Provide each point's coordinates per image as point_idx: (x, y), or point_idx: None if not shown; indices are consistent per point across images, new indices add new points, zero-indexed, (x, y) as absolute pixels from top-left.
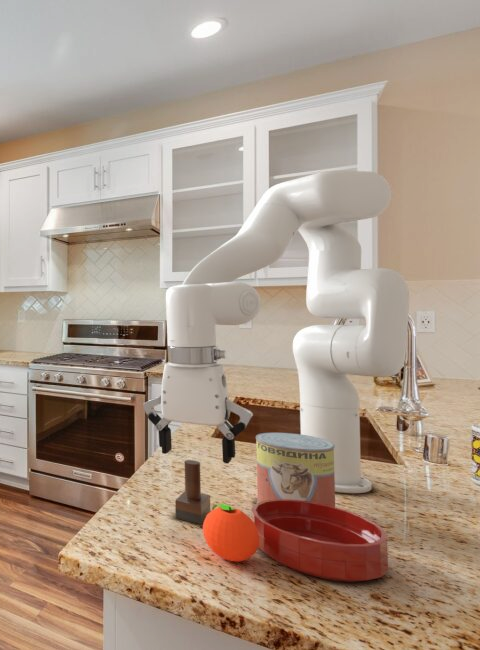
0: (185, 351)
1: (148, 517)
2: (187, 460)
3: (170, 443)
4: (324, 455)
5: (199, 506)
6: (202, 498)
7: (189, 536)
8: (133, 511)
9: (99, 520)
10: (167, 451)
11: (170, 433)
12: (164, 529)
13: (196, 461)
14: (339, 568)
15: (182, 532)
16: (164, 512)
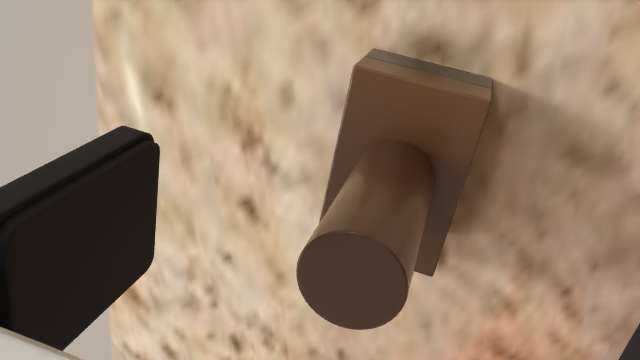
0: None
1: (241, 227)
2: (314, 249)
3: (121, 187)
4: None
5: (425, 274)
6: (444, 173)
7: (394, 342)
8: (179, 189)
9: None
10: (148, 246)
11: (49, 220)
12: (309, 311)
13: (380, 255)
14: None
15: None
16: (288, 155)
